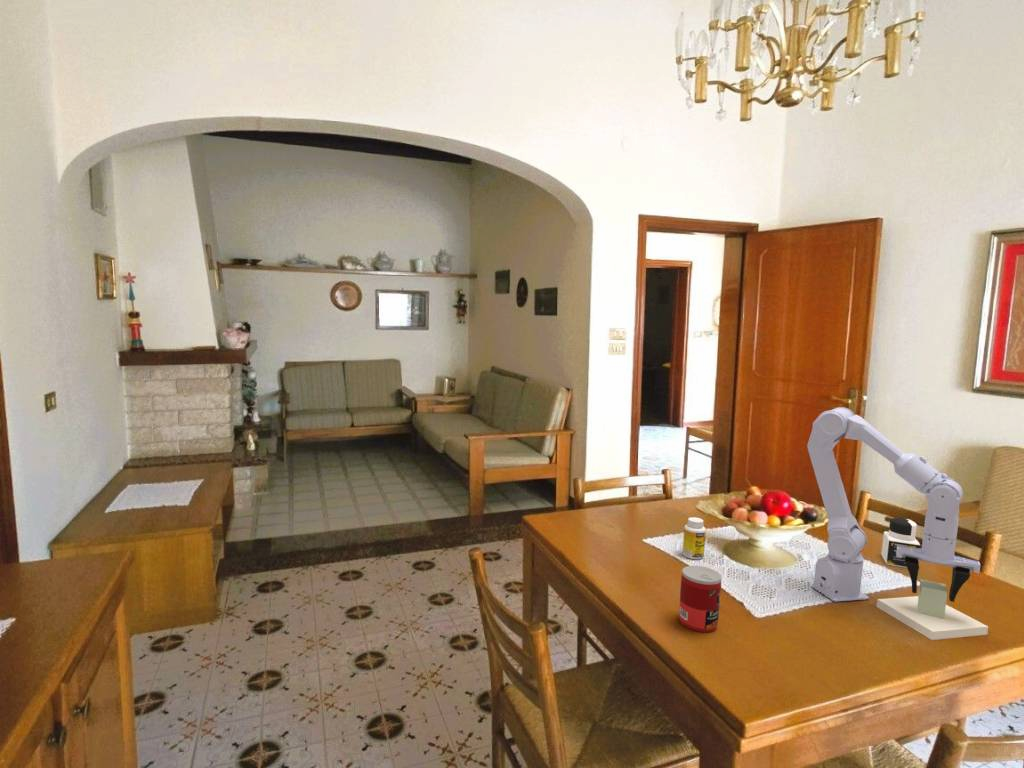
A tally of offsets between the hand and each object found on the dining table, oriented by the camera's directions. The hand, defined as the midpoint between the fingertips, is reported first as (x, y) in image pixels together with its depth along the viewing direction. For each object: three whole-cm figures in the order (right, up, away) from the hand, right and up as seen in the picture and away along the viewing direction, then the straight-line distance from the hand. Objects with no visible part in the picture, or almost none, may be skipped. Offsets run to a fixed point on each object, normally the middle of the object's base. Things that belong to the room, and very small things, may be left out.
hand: (932, 595), depth 128 cm
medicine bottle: (+14, -3, +32) cm, 35 cm away
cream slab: (0, -6, +1) cm, 6 cm away
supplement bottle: (-42, -1, +31) cm, 53 cm away
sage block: (0, -4, +1) cm, 4 cm away
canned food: (-52, -5, -4) cm, 53 cm away
